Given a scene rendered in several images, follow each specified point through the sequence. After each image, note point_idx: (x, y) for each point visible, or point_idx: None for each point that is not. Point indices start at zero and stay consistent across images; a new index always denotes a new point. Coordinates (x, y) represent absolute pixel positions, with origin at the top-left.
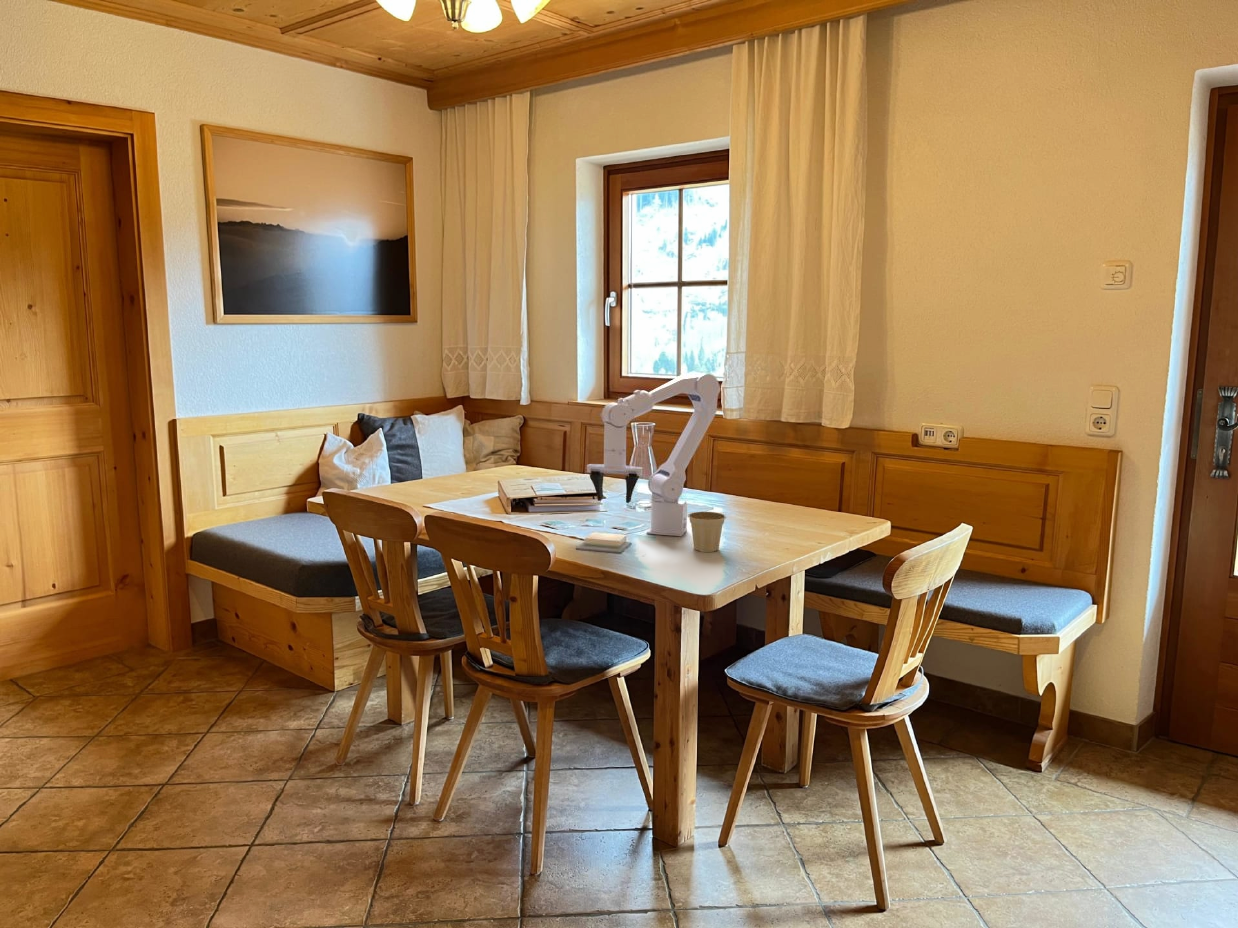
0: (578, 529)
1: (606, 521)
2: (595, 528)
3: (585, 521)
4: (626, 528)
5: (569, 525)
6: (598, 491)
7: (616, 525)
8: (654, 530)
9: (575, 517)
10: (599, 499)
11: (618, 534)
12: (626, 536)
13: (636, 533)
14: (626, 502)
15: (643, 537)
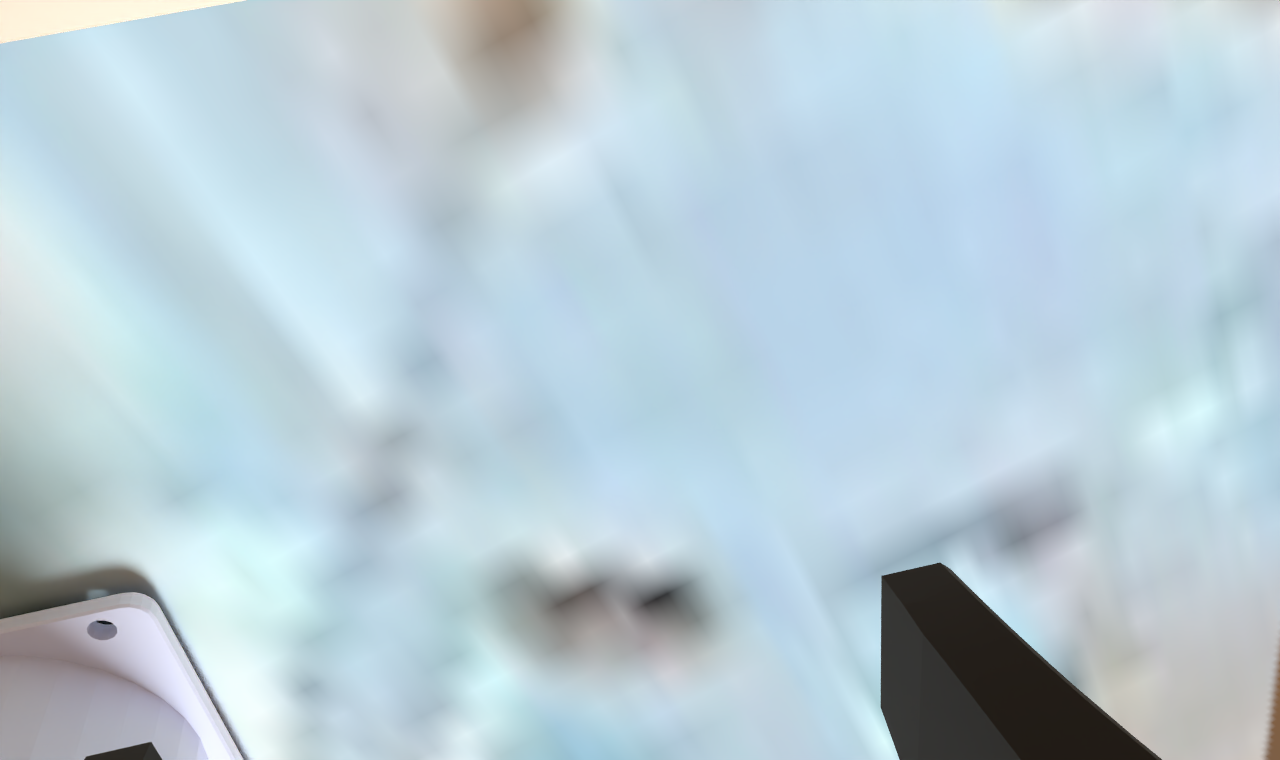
0: (1072, 341)
1: (864, 749)
2: (881, 483)
3: (1075, 649)
4: (535, 656)
5: (1217, 440)
6: (1048, 753)
7: (701, 692)
8: (53, 673)
9: (1205, 707)
10: (913, 589)
11: (171, 6)
12: (4, 30)
13: (289, 547)
14: (137, 749)
15: (59, 432)
